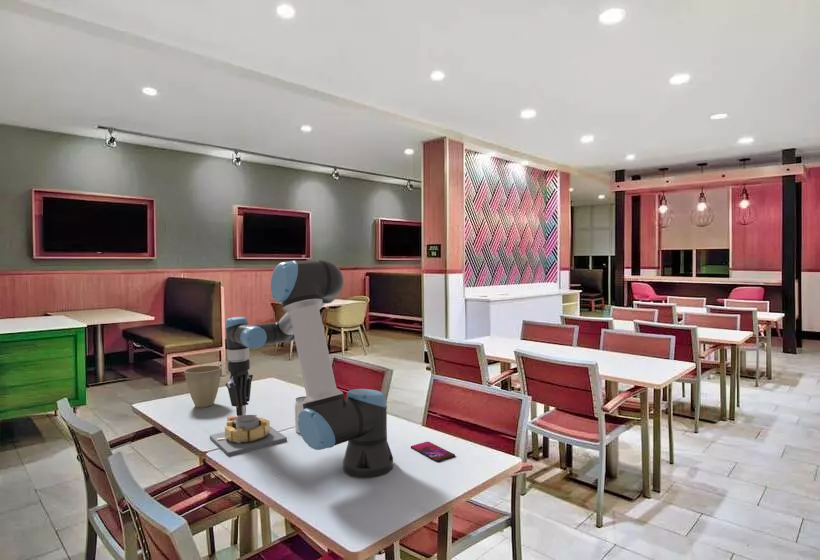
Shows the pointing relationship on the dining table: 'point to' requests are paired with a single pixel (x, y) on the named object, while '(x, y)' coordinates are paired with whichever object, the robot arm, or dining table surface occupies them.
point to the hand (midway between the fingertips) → (241, 423)
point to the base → (241, 447)
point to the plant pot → (203, 384)
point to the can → (298, 410)
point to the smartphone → (433, 451)
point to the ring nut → (245, 430)
